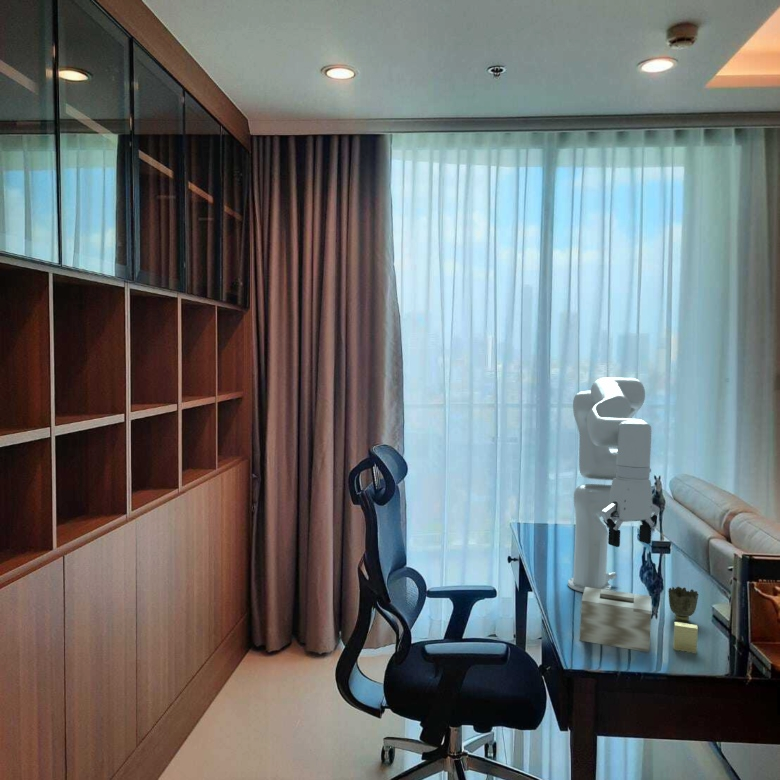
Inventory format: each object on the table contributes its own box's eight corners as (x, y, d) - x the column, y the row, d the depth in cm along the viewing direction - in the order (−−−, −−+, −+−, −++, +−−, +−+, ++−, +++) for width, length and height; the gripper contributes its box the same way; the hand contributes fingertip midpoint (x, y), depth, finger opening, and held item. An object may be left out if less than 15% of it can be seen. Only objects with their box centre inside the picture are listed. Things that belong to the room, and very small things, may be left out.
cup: (662, 619, 182) (663, 590, 181) (673, 612, 187) (675, 584, 187) (690, 628, 176) (691, 597, 176) (701, 621, 182) (702, 591, 181)
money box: (649, 635, 171) (651, 596, 170) (649, 652, 160) (651, 610, 160) (583, 624, 176) (585, 586, 176) (579, 640, 166) (581, 600, 166)
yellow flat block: (695, 649, 163) (697, 625, 163) (696, 653, 161) (697, 628, 161) (673, 645, 165) (674, 621, 165) (673, 649, 163) (675, 625, 162)
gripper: (647, 469, 169) (644, 537, 169) (593, 471, 161) (590, 542, 162) (671, 474, 162) (668, 545, 162) (616, 476, 155) (612, 551, 155)
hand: (629, 544), depth 162 cm, fingers open, 9 cm apart
